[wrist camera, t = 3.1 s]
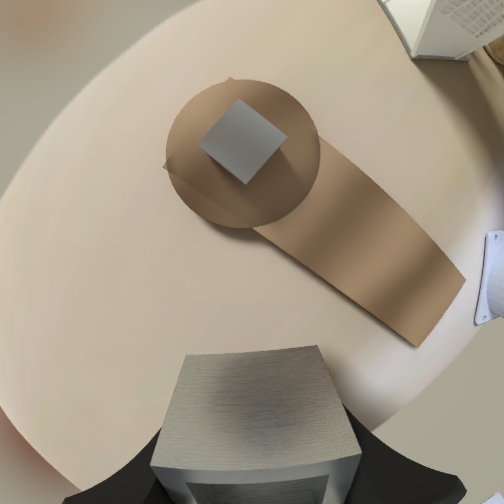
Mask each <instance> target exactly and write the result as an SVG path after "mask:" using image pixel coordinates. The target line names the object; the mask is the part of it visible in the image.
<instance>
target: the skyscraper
mask: <svg viewBox="0 0 504 504" xmlns="http://www.w3.org/2000/svg"><path fill="white" fill-rule="evenodd" d="M377 1H378V2H379V4H380V5H381V7H382V8H383V10H384V12H385V13H386V15H387V17H388V18H389V20H390V22H391V23H392V25H393V27H394V28H395V30H396V32H397V34H398V36H399V37H400V39H401V41H402V43H403V45H404V47H405V49H406V51H407V53H408V55H409V57H410V59H437V60H456V61H470V58H469V56H468V54H469V53H471V52H473V51H475V50H477V49H479V48H480V47H482V46H484V45H486V44H488V43H490V42H492V41H494V40H495V39H497V38H499V37H501V36H502V35H504V0H377Z"/></svg>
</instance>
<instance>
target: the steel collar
mask: <svg viewBox="0 0 504 504" xmlns="http://www.w3.org/2000/svg"><path fill="white" fill-rule="evenodd" d="M361 455H362V451H361V449H360V446H359V444H358V441H357V439H356V436H355V434H354V431H353V429H352V427H351V424H350V422H349V419H348V417H347V414H346V412H345V410H344V407H343V405H342V402H341V400H340V397H339V395H338V393H337V390H336V388H335V386H334V383H333V381H332V378H331V376H330V374H329V371H328V369H327V367H326V364H325V362H324V360H323V357H322V355H321V353H320V350H319V348H318V346H317V345H314V346H306V347H298V348H289V349H280V350H270V351H258V352H245V353H230V354H208V355H186V357H185V360H184V362H183V365H182V368H181V371H180V374H179V377H178V380H177V383H176V386H175V389H174V392H173V395H172V398H171V401H170V404H169V407H168V410H167V413H166V416H165V419H164V422H163V425H162V428H161V431H160V434H159V437H158V441H157V444H156V447H155V450H154V453H153V456H152V460H151V463H150V467H151V468H152V470H153V471H154V473H155V475H156V476H157V478H158V479H159V481H160V482H161V484H162V485H163V487H164V488H165V490H166V491H167V493H168V494H169V496H170V497H171V498H172V500H173V501H174V502H175V504H343V503H344V501H345V499H346V496H347V494H348V491H349V489H350V486H351V483H352V481H353V478H354V475H355V473H356V470H357V467H358V464H359V461H360V458H361Z"/></svg>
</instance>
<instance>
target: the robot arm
mask: <svg viewBox="0 0 504 504" xmlns="http://www.w3.org/2000/svg"><path fill="white" fill-rule="evenodd" d="M500 316H501V317H503V318H504V230H497V231H489V232H488V233H487V236H486V249H485V260H484V269H483V276H482V283H481V290H480V296H479V301H478V307H477V312H476V316H475V323H476V324H478V325H479V324H482V323H485V322H487V321H490V320H492V319H495V318H497V317H500ZM342 405H343V407H344V410H345V412H346V414H347V417H348V419H349V422H350V424H351V427H352V429H353V431H354V434H355V436H356V439H357V441H358V444H359V446H360V449H361V451H362V455H361V458H360V461H359V464H358V467H357V470H356V473H355V475H354V478H353V481H352V483H351V486H350V489H349V491H348V494H347V496H346V499H345V501H344V503H343V504H457V503H459V502H460V500H461V499H462V498H463V497H464V496H465V494H466V492H467V490H466V489H465V487H464V485H463V483H462V482H461V480H460V479H459V478H458V477H457V476H455V475H451V474H447V473H443V472H440V471H436V470H434V469H431V468H428V467H425V466H423V465H421V464H419V463H417V462H415V461H412V460H410V459H408V458H406V457H405V456H403V455H401V454H399V453H398V452H396V451H394V450H393V449H391V448H390V447H389V446H387V445H386V444H385V443H383V442H382V441H380V440H379V439H378V438H377V437H376V436H374V435H373V434H372V433H371V432H370V431H369V430H368V429H367V428H366V427H364V426H363V425H362V424H361V423H360V422H359V421H358V420H357V419H356V418H355V417H354V416H353V415H352V413H351V412H350V411H349V410H348V409H347V408H346V407H345V406H344V404H343V403H342ZM161 428H162V427H161ZM161 428H160V430H159V431H158V432H157V433H156V434H155V436H154V437H153V438H152V439H151V440H150V442H149V443H148V444H147V445H146V446H145V447H144V448H143V449H142V450H141V451H140V452H139V453H138V454H137V455H136V456H135V457H134V458H133V459H132V460H131V461H130V462H129V463H128V464H126V465H125V466H124V467H123V468H122V469H120V470H119V471H118V472H116V473H115V474H113V475H112V476H111V477H109V478H107V479H106V480H104V481H103V482H101V483H99V484H97V485H95V486H93V487H92V488H90V489H88V490H85V491H83V492H81V493H78V494H76V495H73V496H70V497H67V498H65V499H64V501H63V503H62V504H175V502H174V501H173V500H172V498H171V497H170V496H169V494H168V493H167V491H166V490H165V488H164V487H163V485H162V484H161V482H160V481H159V479H158V478H157V476H156V475H155V473H154V471H153V470H152V468H151V467H150V463H151V460H152V456H153V453H154V450H155V447H156V444H157V441H158V437H159V434H160V431H161ZM481 504H504V499H503V498H502V496H501V495H500V493H499V492H496V493H495V494H494V495H492V496H491V497H489V498H488V499H487V500H485V501H484V502H482V503H481Z"/></svg>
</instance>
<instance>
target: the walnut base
mask: <svg viewBox="0 0 504 504" xmlns="http://www.w3.org/2000/svg"><path fill="white" fill-rule="evenodd" d="M163 168H164V169H166V170H167V171H168V173H169V177H170V179H171V182H172V185H173V186H174V188H175V190H176V192H177V194H178V195H179V196H180V198H181V199H182V200H183V202H184V203H185V204H186V205H187V206H188V207H189V208H190V209H191V210H193V211H194V212H195V213H197V214H198V215H199V216H201V217H203V218H205V219H206V220H208V221H211V222H213V223H215V224H219V225H222V226H226V227H232V228H253V229H254V230H255V231H257V232H258V233H260V234H261V235H263V236H264V237H265V238H267V239H268V240H270V241H271V242H273V243H274V244H275V245H277V246H278V247H280V248H281V249H283V250H284V251H285V252H287V253H288V254H290V255H291V256H293V257H294V258H295V259H297V260H298V261H300V262H301V263H302V264H304V265H305V266H307V267H308V268H309V269H311V270H312V271H314V272H315V273H316V274H318V275H319V276H321V277H322V278H323V279H325V280H326V281H328V282H329V283H330V284H332V285H333V286H334V287H336V288H337V289H339V290H340V291H341V292H343V293H344V294H346V295H347V296H348V297H350V298H351V299H352V300H354V301H355V302H356V303H358V304H359V305H361V306H362V307H363V308H365V309H366V310H367V311H369V312H370V313H371V314H373V315H374V316H376V317H377V318H378V319H380V320H381V321H382V322H384V323H385V324H386V325H388V326H389V327H390V328H392V329H393V330H394V331H396V332H397V333H398V334H400V335H401V336H402V337H404V338H405V339H406V340H408V341H409V342H410V343H412V344H413V345H414V346H416V347H417V348H418V347H419V346H420V345H421V344H422V342H423V341H424V340H425V339H426V337H427V336H428V335H429V334H430V332H431V331H432V330H433V328H434V327H435V326H436V324H437V323H438V321H439V320H440V319H441V317H442V316H443V314H444V313H445V312H446V310H447V309H448V307H449V306H450V304H451V303H452V301H453V300H454V298H455V297H456V295H457V294H458V292H459V291H460V289H461V287H462V286H463V284H464V283H465V281H466V279H465V278H464V277H463V275H462V274H461V273H460V272H459V270H458V269H457V268H456V267H455V265H454V264H453V263H452V262H451V261H450V259H449V258H448V257H447V256H446V255H445V254H444V252H443V251H442V250H441V249H440V248H439V247H438V245H437V244H436V243H435V242H434V241H433V240H432V239H431V238H430V237H429V235H428V234H427V233H426V232H425V231H424V230H423V229H422V228H421V227H420V226H419V225H418V224H417V223H416V222H415V221H414V220H413V219H412V218H411V216H410V215H409V214H408V213H407V212H406V211H405V210H404V209H403V208H402V207H401V206H400V205H399V204H397V203H396V202H395V201H394V200H393V199H392V198H391V197H390V196H389V195H388V194H387V193H386V192H385V191H384V190H383V189H382V188H381V187H380V186H378V185H377V184H376V183H375V182H374V181H373V180H372V179H371V178H370V177H368V176H367V175H366V174H365V173H364V172H363V171H362V170H360V169H359V168H358V167H357V166H356V165H355V164H353V163H352V162H351V161H350V160H349V159H347V158H346V157H345V156H344V155H343V154H341V153H340V152H339V151H338V150H336V149H335V148H334V147H333V146H331V145H330V144H329V143H327V142H326V141H325V140H324V139H322V138H321V137H320V136H318V133H317V130H316V127H315V125H314V122H313V121H312V119H311V117H310V115H309V114H308V112H307V111H306V110H305V108H304V107H303V106H302V105H301V104H300V103H299V102H298V101H297V100H296V99H295V98H294V97H293V96H291V95H290V94H289V93H287V92H286V91H284V90H282V89H280V88H278V87H276V86H274V85H271V84H268V83H265V82H261V81H255V80H234V79H232V78H231V77H229V78H228V79H227V81H226V82H222V83H219V84H216V85H214V86H211V87H209V88H207V89H205V90H203V91H202V92H200V93H199V94H197V95H196V96H195V97H193V98H192V99H191V100H190V101H189V102H188V103H187V104H186V105H185V106H184V107H183V108H182V110H181V111H180V112H179V114H178V115H177V117H176V119H175V120H174V123H173V125H172V127H171V129H170V132H169V136H168V140H167V146H166V163H165V164H164V166H163Z"/></svg>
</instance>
